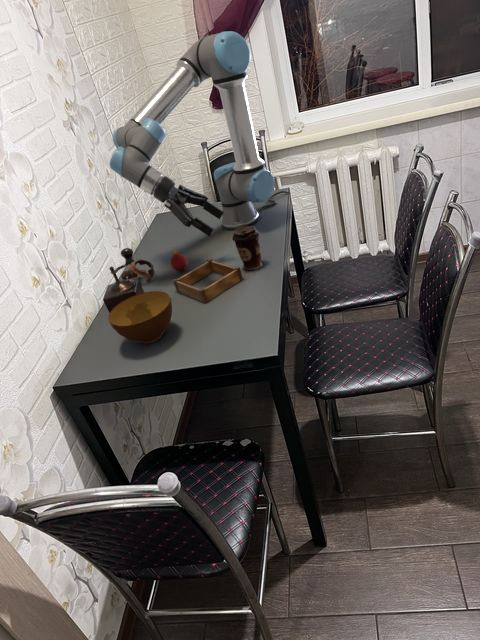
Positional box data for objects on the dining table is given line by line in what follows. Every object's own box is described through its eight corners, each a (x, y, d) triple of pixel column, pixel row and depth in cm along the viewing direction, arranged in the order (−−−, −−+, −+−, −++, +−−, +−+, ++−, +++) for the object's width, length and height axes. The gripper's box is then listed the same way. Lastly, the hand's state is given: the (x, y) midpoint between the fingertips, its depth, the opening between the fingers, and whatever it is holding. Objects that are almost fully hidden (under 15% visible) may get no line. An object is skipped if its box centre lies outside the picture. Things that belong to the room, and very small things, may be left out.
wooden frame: (213, 270, 162) (210, 258, 160) (243, 279, 152) (239, 267, 149) (176, 291, 155) (172, 280, 153) (205, 303, 144) (201, 291, 142)
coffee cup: (251, 274, 153) (241, 237, 146) (235, 269, 159) (225, 233, 152) (270, 262, 157) (262, 226, 150) (254, 258, 163) (245, 222, 155)
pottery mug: (141, 273, 175) (144, 255, 170) (157, 288, 172) (161, 269, 166) (114, 281, 167) (116, 262, 161) (130, 297, 163) (133, 277, 158)
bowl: (170, 353, 126) (157, 322, 120) (112, 358, 130) (97, 328, 125) (189, 317, 139) (178, 288, 134) (136, 322, 144) (123, 294, 138)
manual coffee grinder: (148, 316, 145) (126, 264, 135) (114, 325, 146) (89, 274, 135) (152, 293, 158) (132, 244, 148) (120, 301, 158) (98, 253, 148)
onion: (187, 274, 164) (179, 254, 160) (172, 276, 166) (164, 256, 161) (192, 267, 169) (185, 246, 164) (177, 268, 170) (170, 248, 166)
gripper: (166, 182, 158) (220, 218, 163) (139, 210, 139) (201, 249, 144) (175, 163, 154) (230, 200, 159) (149, 189, 135) (212, 231, 139)
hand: (217, 224), depth 151 cm, fingers open, 13 cm apart
